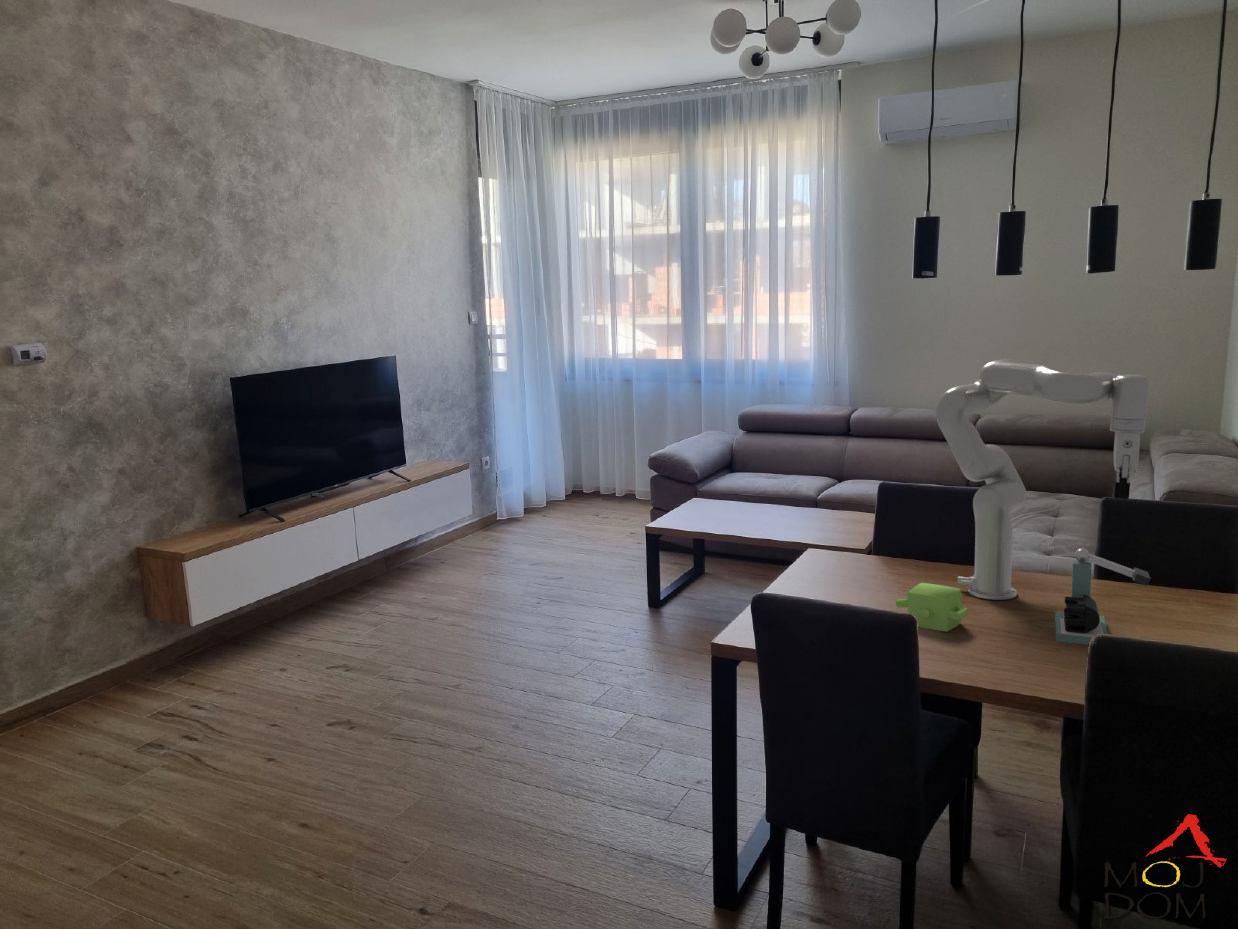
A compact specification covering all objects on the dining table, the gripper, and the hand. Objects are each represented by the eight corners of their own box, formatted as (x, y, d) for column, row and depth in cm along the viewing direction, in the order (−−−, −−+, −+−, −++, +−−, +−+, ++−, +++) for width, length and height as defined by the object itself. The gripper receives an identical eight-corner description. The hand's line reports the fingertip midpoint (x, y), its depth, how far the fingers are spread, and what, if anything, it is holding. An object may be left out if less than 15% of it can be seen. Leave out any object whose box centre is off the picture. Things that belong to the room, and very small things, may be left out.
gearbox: (888, 624, 229) (887, 589, 227) (905, 612, 236) (904, 579, 234) (956, 638, 216) (955, 601, 214) (973, 625, 223) (972, 589, 221)
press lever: (1074, 561, 217) (1078, 550, 216) (1073, 555, 222) (1077, 544, 221) (1146, 588, 211) (1151, 576, 210) (1143, 581, 216) (1148, 570, 215)
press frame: (1056, 641, 211) (1058, 577, 208) (1054, 619, 226) (1057, 558, 223) (1108, 646, 206) (1111, 581, 203) (1103, 623, 221) (1106, 561, 219)
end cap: (1099, 635, 207) (1100, 608, 206) (1065, 632, 210) (1066, 605, 209) (1096, 622, 216) (1097, 595, 215) (1063, 619, 219) (1064, 592, 218)
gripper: (1147, 430, 208) (1140, 505, 211) (1143, 421, 221) (1136, 493, 224) (1111, 428, 211) (1105, 503, 214) (1108, 420, 224) (1102, 490, 228)
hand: (1121, 497), depth 219 cm, fingers closed
